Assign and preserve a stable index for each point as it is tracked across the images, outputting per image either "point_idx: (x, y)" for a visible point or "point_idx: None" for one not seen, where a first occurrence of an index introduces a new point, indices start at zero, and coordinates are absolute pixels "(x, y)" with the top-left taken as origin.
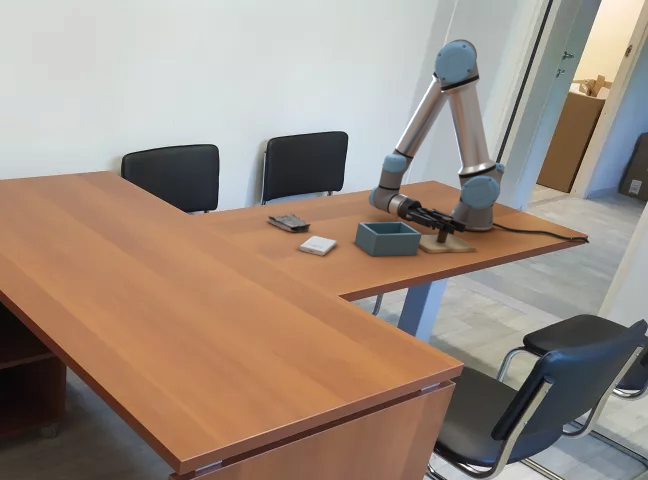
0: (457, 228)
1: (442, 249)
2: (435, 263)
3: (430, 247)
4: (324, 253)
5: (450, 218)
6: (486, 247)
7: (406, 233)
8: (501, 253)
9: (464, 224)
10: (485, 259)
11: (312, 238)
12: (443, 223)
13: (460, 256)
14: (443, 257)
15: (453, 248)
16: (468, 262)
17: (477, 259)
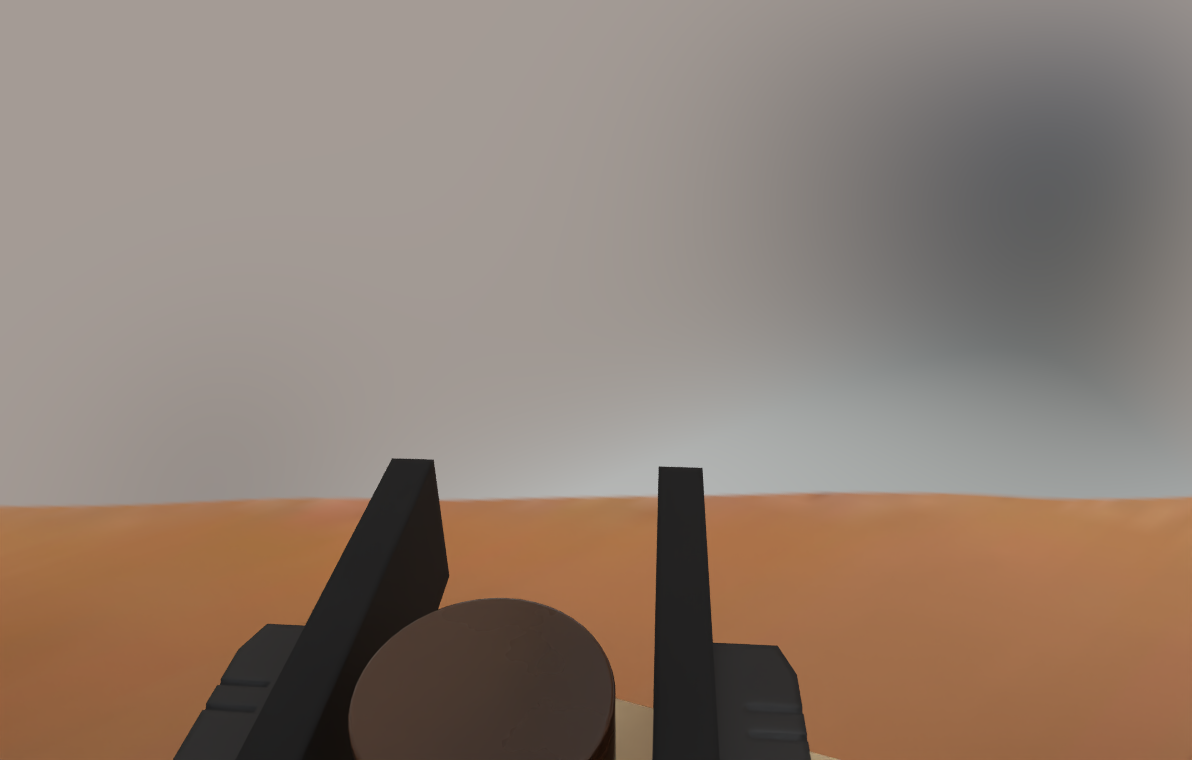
0: None
1: (813, 755)
2: (1132, 602)
3: None
4: None
5: (396, 662)
6: (20, 680)
7: None
8: (143, 532)
9: (400, 470)
10: (473, 505)
11: None
12: (713, 686)
13: (653, 623)
14: (904, 673)
15: (622, 707)
16: (714, 516)
17: (549, 526)
